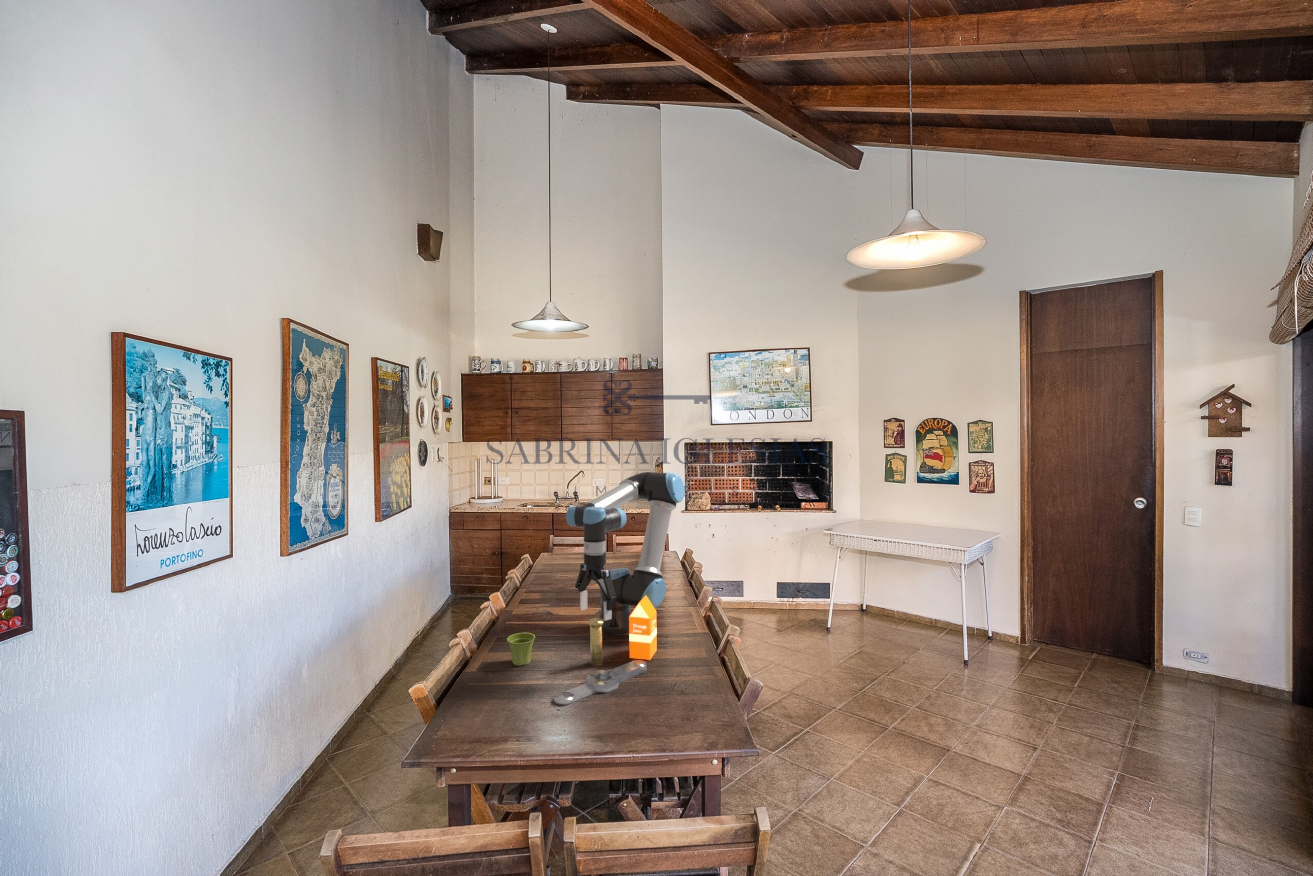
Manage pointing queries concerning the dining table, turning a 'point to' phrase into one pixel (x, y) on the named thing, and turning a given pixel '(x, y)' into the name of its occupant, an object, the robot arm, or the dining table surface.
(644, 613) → the orange juice
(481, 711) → the dining table surface
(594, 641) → the pin
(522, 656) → the plant pot
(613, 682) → the metal spinner bar
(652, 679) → the dining table surface
